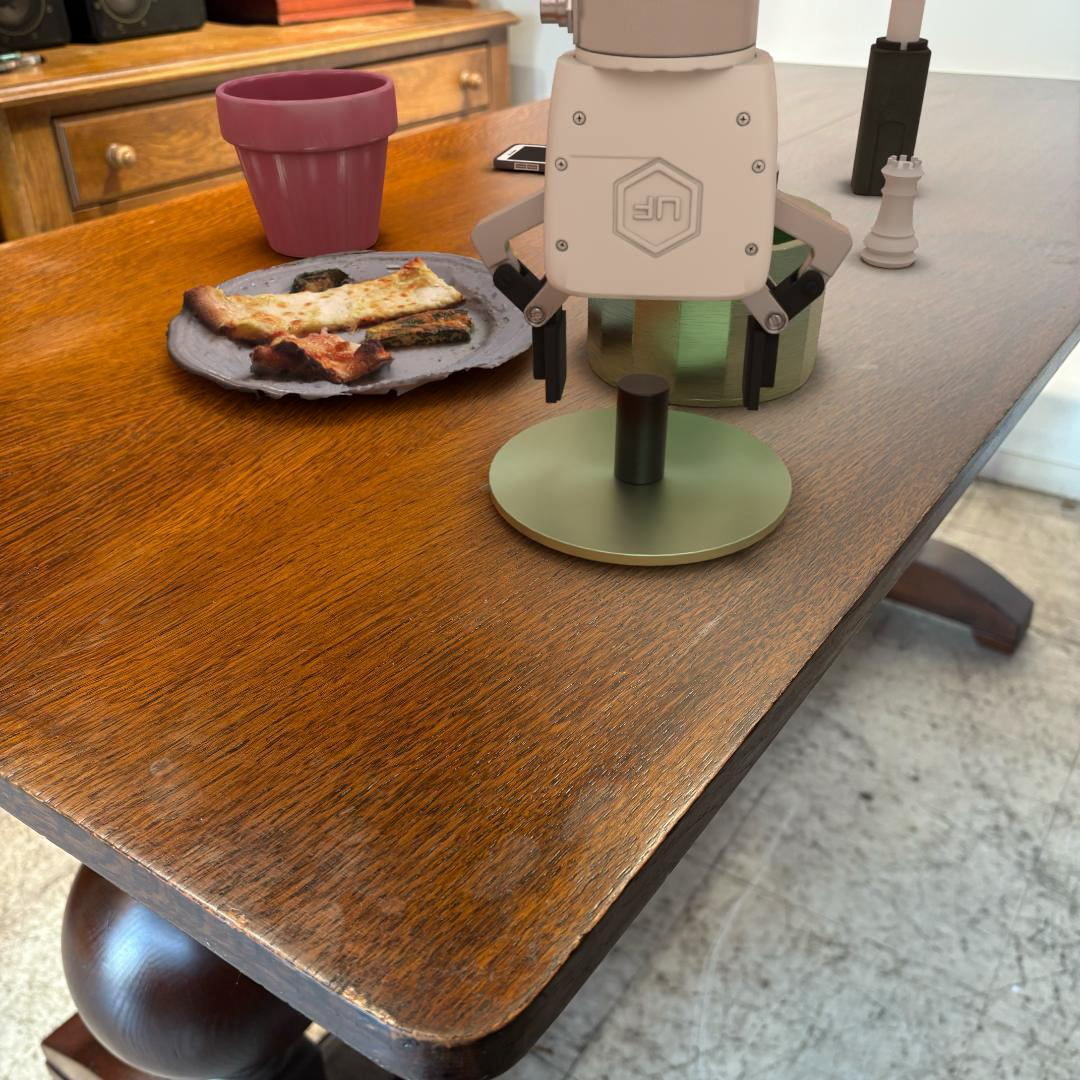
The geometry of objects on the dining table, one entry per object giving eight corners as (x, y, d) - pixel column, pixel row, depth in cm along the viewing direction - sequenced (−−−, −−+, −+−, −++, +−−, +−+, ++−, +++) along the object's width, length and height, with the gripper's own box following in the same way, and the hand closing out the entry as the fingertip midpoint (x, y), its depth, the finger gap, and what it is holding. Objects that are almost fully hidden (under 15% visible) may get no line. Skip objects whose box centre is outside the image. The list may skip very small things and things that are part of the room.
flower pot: (228, 228, 96) (203, 73, 90) (383, 211, 101) (370, 62, 94) (252, 279, 85) (226, 106, 78) (426, 257, 89) (415, 91, 82)
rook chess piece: (848, 256, 89) (863, 155, 85) (892, 249, 91) (909, 149, 87) (882, 272, 86) (900, 168, 82) (928, 265, 87) (947, 162, 83)
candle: (853, 195, 105) (898, -107, 91) (849, 181, 109) (892, -110, 96) (908, 197, 104) (961, -107, 91) (902, 183, 108) (952, -110, 95)
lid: (781, 433, 63) (794, 331, 59) (799, 588, 50) (817, 469, 46) (513, 418, 64) (511, 318, 61) (463, 564, 51) (457, 447, 48)
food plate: (199, 450, 61) (188, 393, 59) (149, 312, 79) (139, 265, 77) (599, 375, 70) (600, 323, 68) (471, 266, 88) (469, 222, 86)
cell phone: (628, 179, 109) (629, 169, 109) (490, 169, 113) (490, 159, 112) (645, 161, 115) (646, 152, 115) (514, 152, 119) (514, 142, 119)
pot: (801, 309, 79) (818, 176, 74) (825, 434, 63) (850, 273, 58) (601, 300, 81) (605, 169, 76) (572, 420, 64) (574, 262, 59)
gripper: (441, 34, 43) (467, 423, 52) (894, 32, 41) (836, 437, 50) (476, 7, 49) (493, 359, 59) (870, 4, 47) (823, 370, 56)
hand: (652, 395), depth 54 cm, fingers open, 9 cm apart
